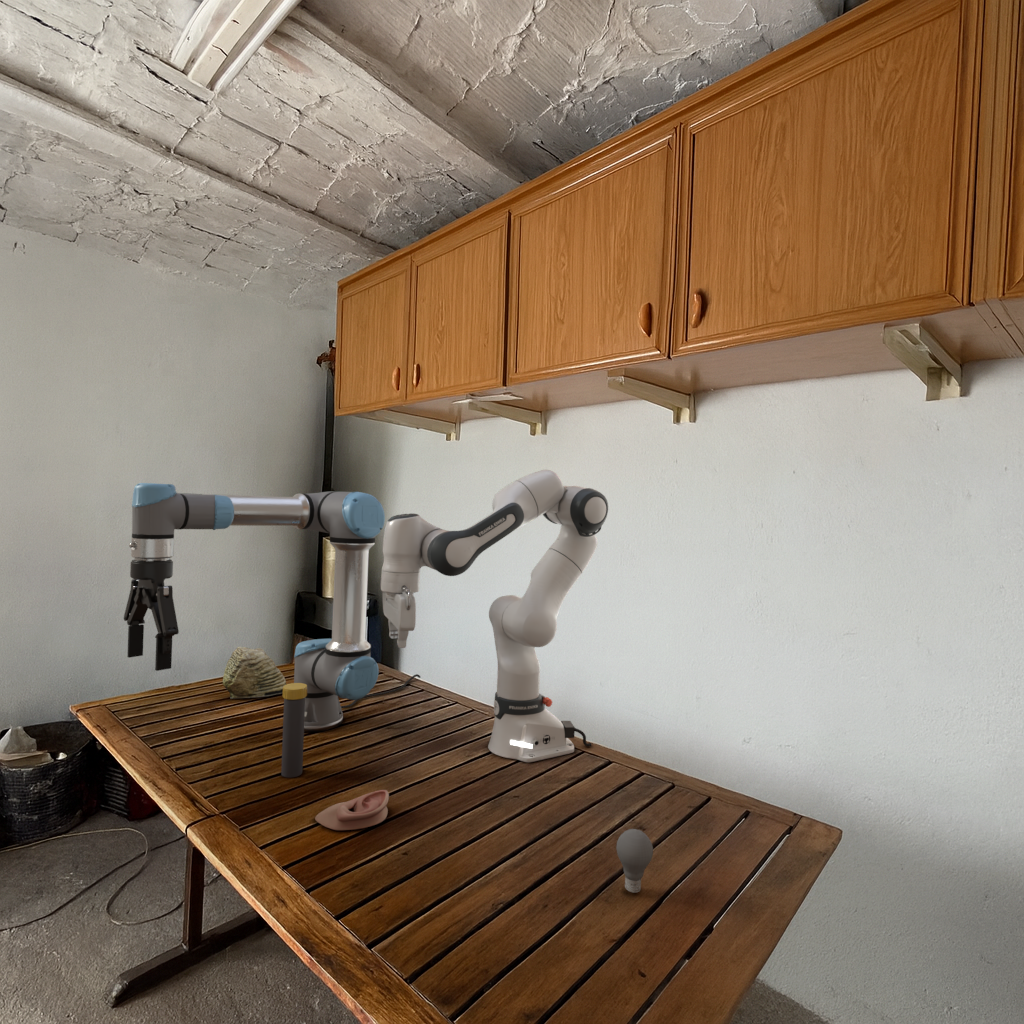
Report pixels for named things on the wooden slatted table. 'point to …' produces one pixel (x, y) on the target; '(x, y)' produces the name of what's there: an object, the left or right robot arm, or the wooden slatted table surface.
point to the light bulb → (634, 857)
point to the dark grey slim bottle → (293, 737)
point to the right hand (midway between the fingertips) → (397, 642)
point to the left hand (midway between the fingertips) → (148, 662)
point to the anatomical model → (356, 812)
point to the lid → (294, 691)
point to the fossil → (252, 674)
